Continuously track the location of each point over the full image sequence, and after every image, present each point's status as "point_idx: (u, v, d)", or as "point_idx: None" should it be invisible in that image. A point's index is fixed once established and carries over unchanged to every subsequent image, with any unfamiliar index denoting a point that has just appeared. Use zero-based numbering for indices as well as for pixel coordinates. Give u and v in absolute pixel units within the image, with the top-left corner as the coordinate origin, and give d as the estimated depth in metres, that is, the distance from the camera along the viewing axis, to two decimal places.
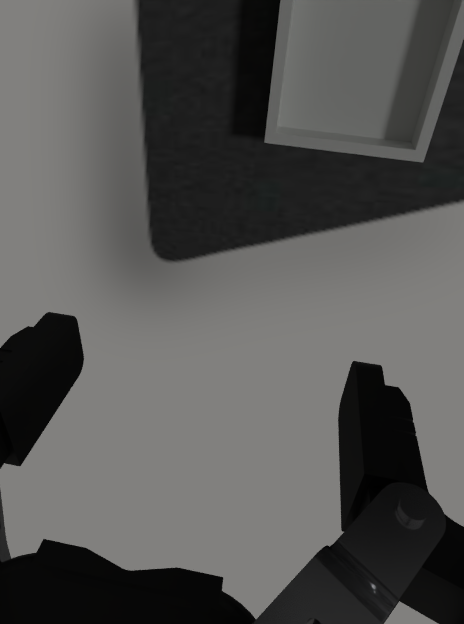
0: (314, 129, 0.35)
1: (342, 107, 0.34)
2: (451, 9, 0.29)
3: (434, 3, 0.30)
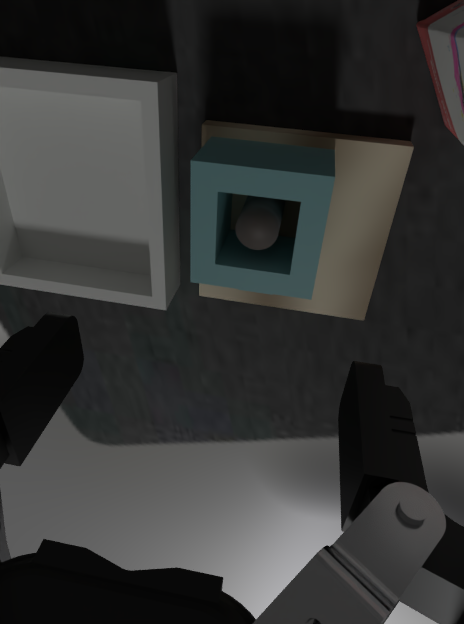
0: None
1: (31, 171, 0.25)
2: (150, 276, 0.27)
3: None
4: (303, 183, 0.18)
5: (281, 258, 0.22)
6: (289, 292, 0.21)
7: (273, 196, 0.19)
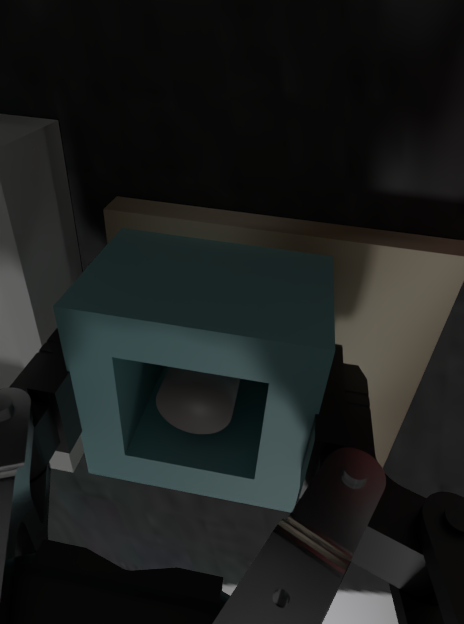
0: None
1: None
2: None
3: None
4: (272, 356, 0.09)
5: (243, 432, 0.13)
6: (255, 500, 0.12)
7: (216, 371, 0.10)
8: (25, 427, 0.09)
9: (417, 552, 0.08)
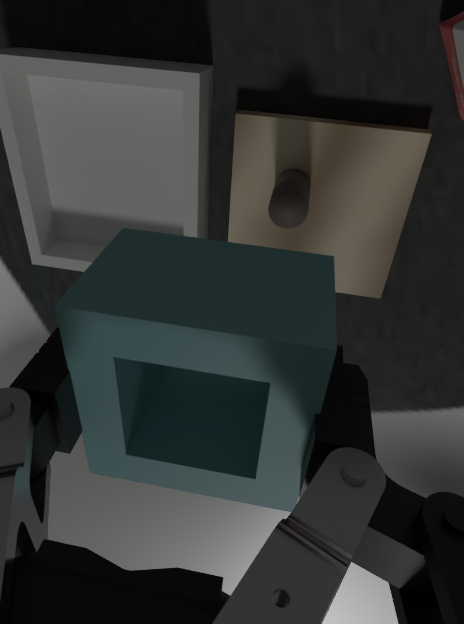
0: (37, 123, 0.26)
1: (71, 158, 0.27)
2: None
3: None
4: (274, 356, 0.09)
5: (244, 431, 0.13)
6: (256, 500, 0.12)
7: (217, 371, 0.10)
8: (25, 427, 0.09)
9: (417, 552, 0.08)
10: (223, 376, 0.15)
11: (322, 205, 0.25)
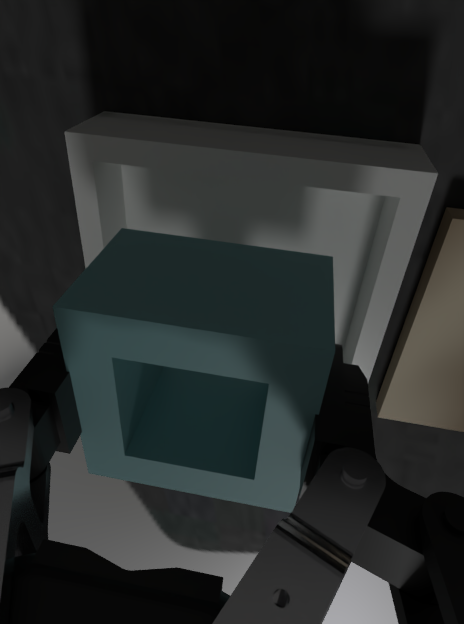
0: (127, 219, 0.17)
1: None
2: None
3: None
4: (272, 356, 0.09)
5: (242, 432, 0.13)
6: (255, 501, 0.12)
7: (216, 372, 0.10)
8: (25, 427, 0.09)
9: (417, 552, 0.08)
10: (222, 376, 0.15)
11: None
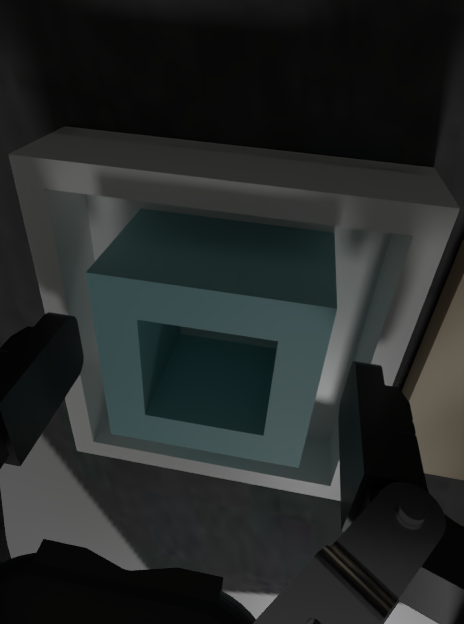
0: (95, 249, 0.15)
1: None
2: (310, 438, 0.18)
3: (321, 418, 0.18)
4: (281, 315, 0.10)
5: (252, 396, 0.14)
6: (264, 457, 0.14)
7: (230, 331, 0.11)
8: None
9: None
10: (232, 348, 0.16)
11: None
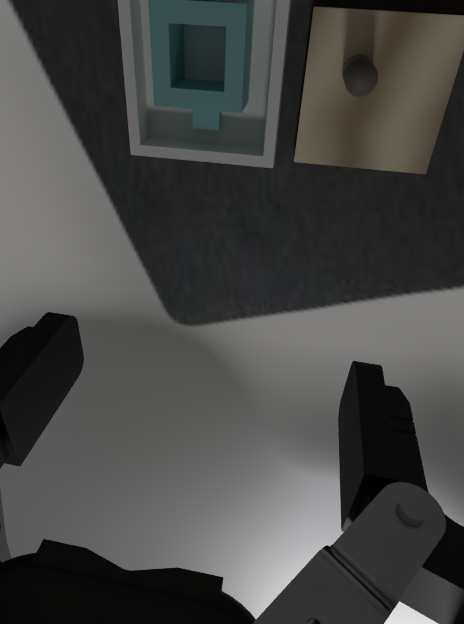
0: (142, 25, 0.31)
1: None
2: (255, 147, 0.35)
3: (259, 131, 0.34)
4: (226, 11, 0.26)
5: (220, 87, 0.30)
6: (225, 108, 0.30)
7: (206, 23, 0.27)
8: None
9: None
10: (211, 81, 0.32)
11: (381, 88, 0.31)
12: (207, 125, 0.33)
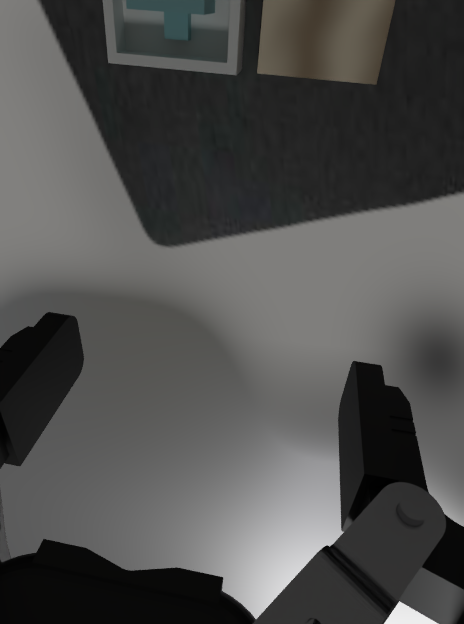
0: None
1: None
2: (222, 59, 0.38)
3: (225, 43, 0.37)
4: None
5: None
6: (189, 9, 0.33)
7: None
8: None
9: None
10: None
11: None
12: (177, 35, 0.37)
